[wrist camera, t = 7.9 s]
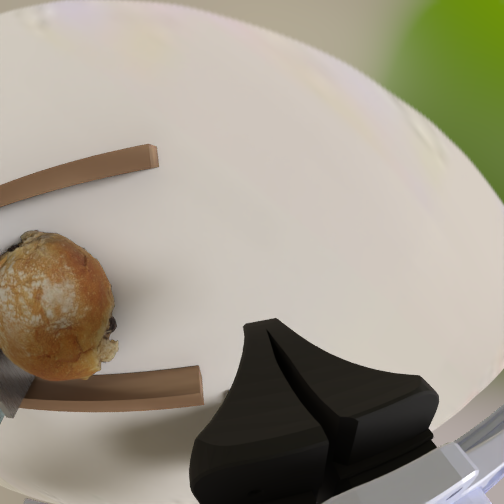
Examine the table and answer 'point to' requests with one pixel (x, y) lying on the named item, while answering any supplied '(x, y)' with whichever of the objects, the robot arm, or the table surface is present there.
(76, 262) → the bread roll
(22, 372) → the pusher plate
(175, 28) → the table surface
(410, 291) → the table surface
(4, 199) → the brown wooden tray
